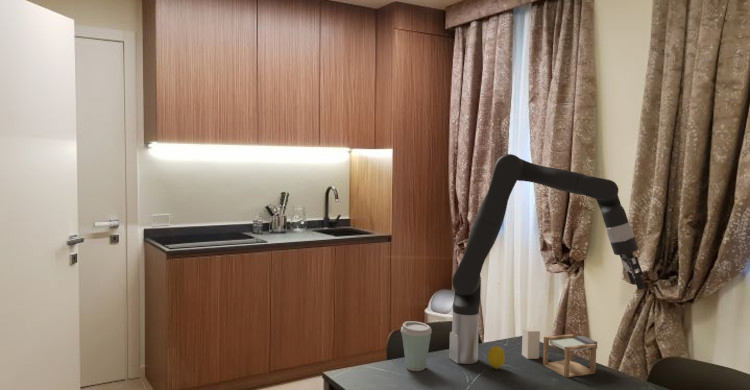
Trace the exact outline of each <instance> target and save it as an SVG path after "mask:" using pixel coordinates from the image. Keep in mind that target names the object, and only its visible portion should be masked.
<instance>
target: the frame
mask: <svg viewBox="0 0 750 390" xmlns="http://www.w3.org/2000/svg"><path fill="white" fill-rule="evenodd" d="M567 338H574V339H575V334H572V333H571V334H569V333H568V334H562V335H552V336H551V335H549V336H544V337H543V349H542V352H543V353H542V366H544V367H546V368H548V369H550V370H552V371H553V372H556V373H557V374H558V375H561V376H563V377H564V378H572V377H577V376H578V377H580V376H587V375H594V374H596V365H597V363H596V362H597V349H596V344H586V345H577V346H569V347H565V350H564V354H563V355H564V359H563V360H556V361H549V347H550V345H549V344H550V340H558V339H567ZM584 348H591V350H590V357H589V358H590V361H589V367H587V366H585V365H583V364H581V363H579V362H578V361H575V360H574V353H575V351H570V350H576V349H584Z"/></svg>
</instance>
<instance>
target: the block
mask: <svg viewBox="0 0 750 390" xmlns="http://www.w3.org/2000/svg"><path fill="white" fill-rule="evenodd" d="M521 333H522V334H521V335H522V337H521V338H522V342H521V355H522V356H523V357H524V358H525V359H527V360H532V359H534V360H535V359H536V360H537V359H540V343H541V341H540V338H541V330H539V329H537V328H535V327H522V332H521Z"/></svg>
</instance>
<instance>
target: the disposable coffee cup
mask: <svg viewBox="0 0 750 390" xmlns="http://www.w3.org/2000/svg"><path fill="white" fill-rule="evenodd" d="M400 333H401V337H402V346H403V353H404V361H405V366H406V369H407V370H409V371H413V372H419V371H420V372H421V371H424V370H425V369H426V367H427V362H428V360H427V359H428V356H429V355H428V354H429V349H430V343H431V336H432V333H433V331H432V328H431V326H430V325H428V324H427V323H424V322H421V321H414V320H413V321H412V320H411V321H409V320H408V321H404V322H403V323H402V326H401V327H400Z"/></svg>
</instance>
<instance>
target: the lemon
mask: <svg viewBox="0 0 750 390" xmlns="http://www.w3.org/2000/svg"><path fill="white" fill-rule="evenodd" d="M487 359H488V363H489V365H490V366H491V367H492V368H494V369H495V370H498V369H500V368H501V367H502V366H503V365H504V364H505V359H506V356H505V352H504V350H503V349H502V348H501V347H500V346H498V345H495V346H493V347H491V348H490V349H489V351H488V355H487Z"/></svg>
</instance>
